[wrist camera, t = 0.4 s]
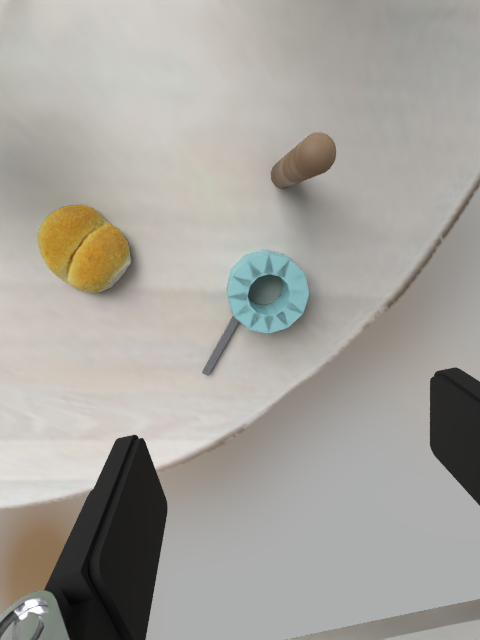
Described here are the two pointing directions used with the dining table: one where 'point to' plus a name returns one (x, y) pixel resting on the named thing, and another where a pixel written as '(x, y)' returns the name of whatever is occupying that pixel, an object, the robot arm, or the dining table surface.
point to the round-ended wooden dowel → (305, 161)
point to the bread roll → (83, 248)
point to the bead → (283, 307)
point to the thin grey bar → (220, 345)
